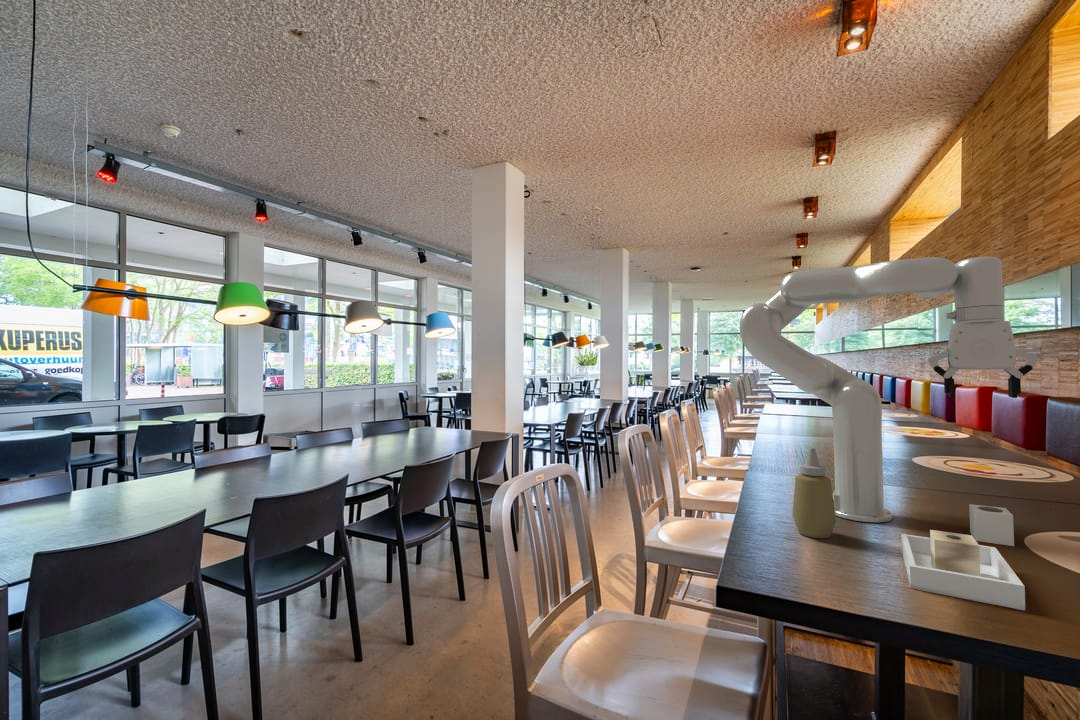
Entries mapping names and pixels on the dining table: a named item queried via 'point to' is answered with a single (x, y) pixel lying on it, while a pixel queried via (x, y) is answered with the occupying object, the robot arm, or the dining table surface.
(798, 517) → the squeeze bottle
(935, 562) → the ash block
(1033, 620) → the dining table surface
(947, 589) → the tray
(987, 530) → the grey block
